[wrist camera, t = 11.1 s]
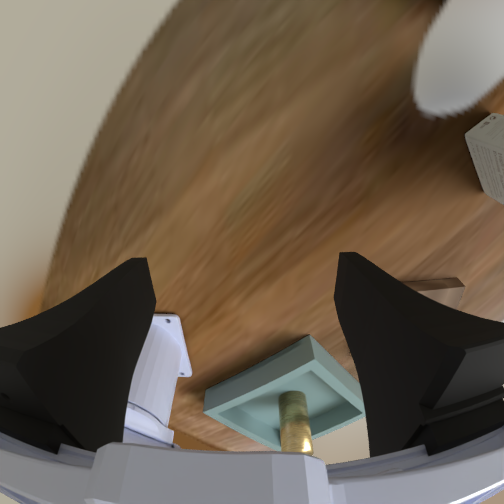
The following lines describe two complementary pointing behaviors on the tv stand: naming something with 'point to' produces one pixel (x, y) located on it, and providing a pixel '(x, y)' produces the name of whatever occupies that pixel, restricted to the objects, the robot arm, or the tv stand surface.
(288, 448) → the pin
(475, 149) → the skincare box
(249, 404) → the tray
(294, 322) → the tv stand surface
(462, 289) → the collar
